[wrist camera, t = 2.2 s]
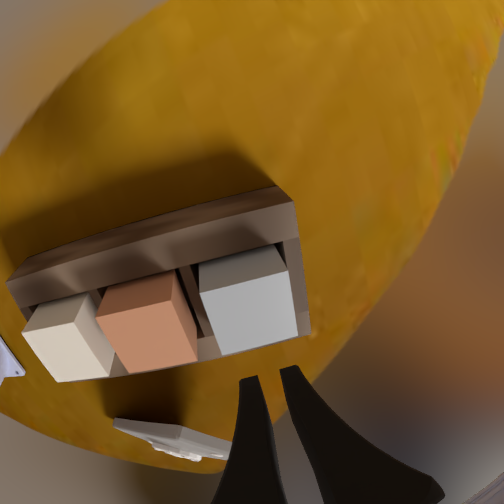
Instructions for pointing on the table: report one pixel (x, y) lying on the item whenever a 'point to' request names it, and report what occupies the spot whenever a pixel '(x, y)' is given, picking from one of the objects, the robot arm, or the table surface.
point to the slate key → (248, 299)
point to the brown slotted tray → (170, 259)
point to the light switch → (176, 439)
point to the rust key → (149, 323)
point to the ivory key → (70, 339)
